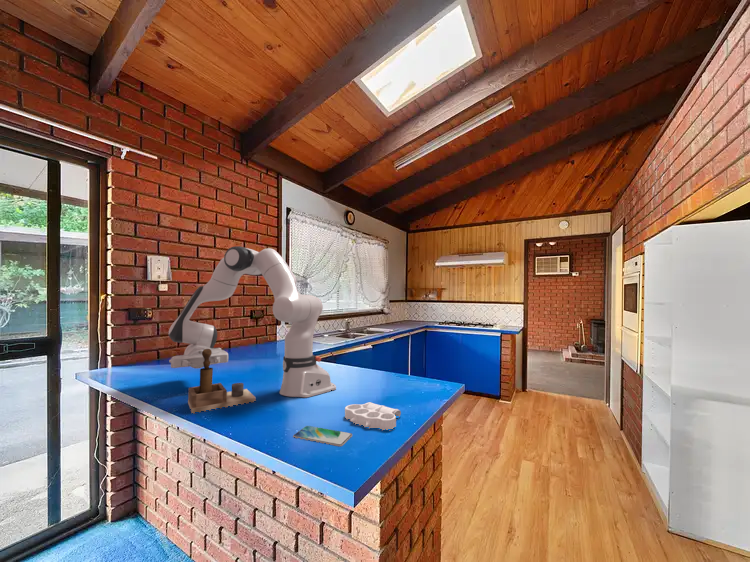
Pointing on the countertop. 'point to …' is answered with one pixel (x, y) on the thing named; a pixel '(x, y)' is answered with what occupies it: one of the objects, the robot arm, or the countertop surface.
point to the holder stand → (218, 397)
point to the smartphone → (323, 435)
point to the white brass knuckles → (372, 415)
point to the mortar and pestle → (206, 373)
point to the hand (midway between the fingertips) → (203, 362)
